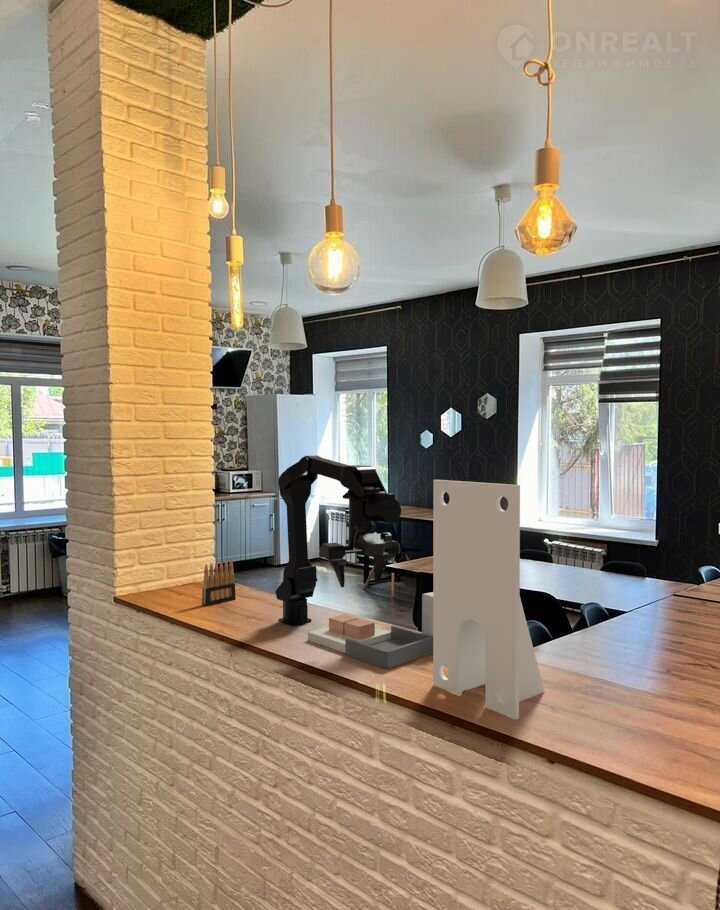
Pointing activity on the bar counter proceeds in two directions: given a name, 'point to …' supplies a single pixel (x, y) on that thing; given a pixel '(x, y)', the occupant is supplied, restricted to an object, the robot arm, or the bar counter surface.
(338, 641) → the plate
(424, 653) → the tray
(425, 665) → the bar counter surface
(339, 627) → the tile rear
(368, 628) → the tile front
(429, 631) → the skincare box
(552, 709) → the bar counter surface
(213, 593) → the ammunition clip
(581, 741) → the bar counter surface
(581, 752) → the bar counter surface
